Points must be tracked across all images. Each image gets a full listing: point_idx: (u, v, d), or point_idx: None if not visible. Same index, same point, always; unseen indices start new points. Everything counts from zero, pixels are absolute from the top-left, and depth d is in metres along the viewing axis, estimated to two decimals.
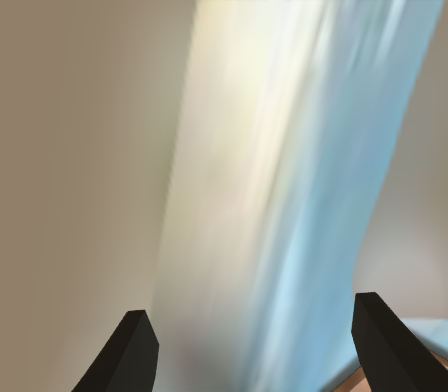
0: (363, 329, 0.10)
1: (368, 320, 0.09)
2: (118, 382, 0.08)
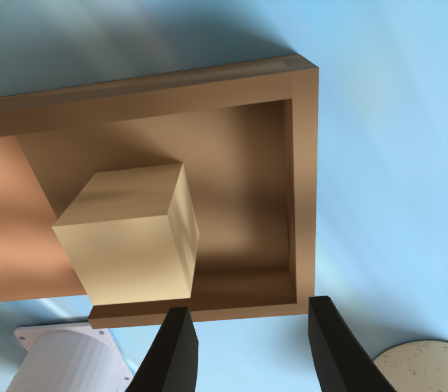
0: (314, 332, 0.10)
1: (316, 324, 0.09)
2: (171, 379, 0.08)
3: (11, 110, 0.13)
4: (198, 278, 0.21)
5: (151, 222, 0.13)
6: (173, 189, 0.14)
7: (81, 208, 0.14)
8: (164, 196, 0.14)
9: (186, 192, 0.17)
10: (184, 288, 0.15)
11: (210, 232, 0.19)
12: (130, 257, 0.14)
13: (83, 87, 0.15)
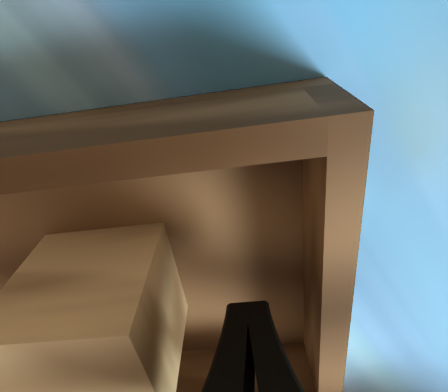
0: None
1: (248, 328, 0.09)
2: (246, 375, 0.08)
3: None
4: (188, 356, 0.16)
5: (105, 344, 0.08)
6: (144, 276, 0.10)
7: (7, 308, 0.09)
8: (129, 292, 0.09)
9: (168, 263, 0.12)
10: None
11: (202, 303, 0.15)
12: (79, 383, 0.09)
13: (17, 125, 0.11)
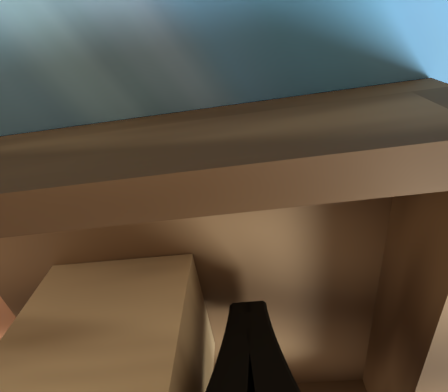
0: None
1: None
2: (250, 375, 0.08)
3: None
4: None
5: None
6: (176, 331, 0.08)
7: (5, 371, 0.08)
8: (159, 354, 0.07)
9: (197, 301, 0.10)
10: None
11: None
12: None
13: (48, 137, 0.09)
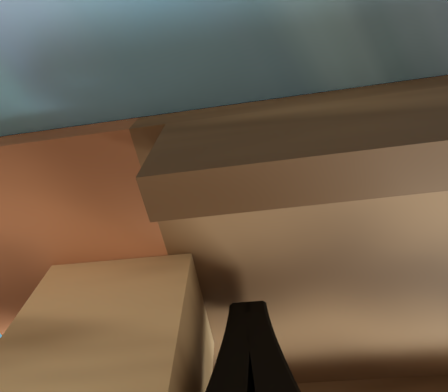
0: None
1: None
2: (249, 375, 0.08)
3: (227, 164, 0.06)
4: (381, 386, 0.14)
5: None
6: (176, 330, 0.08)
7: (5, 371, 0.08)
8: (158, 353, 0.07)
9: (197, 301, 0.10)
10: None
11: (424, 327, 0.12)
12: None
13: (297, 104, 0.08)
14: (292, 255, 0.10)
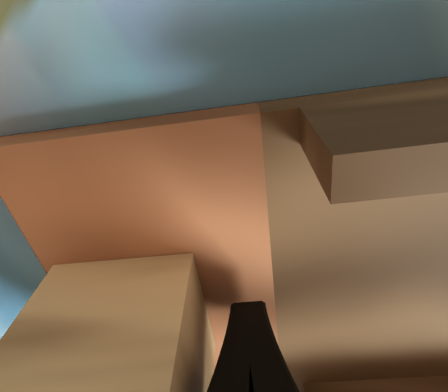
0: None
1: None
2: (251, 375, 0.08)
3: (431, 141, 0.05)
4: None
5: None
6: (177, 330, 0.08)
7: (6, 370, 0.08)
8: (160, 353, 0.07)
9: (198, 301, 0.10)
10: None
11: None
12: None
13: (439, 86, 0.08)
14: (399, 246, 0.10)
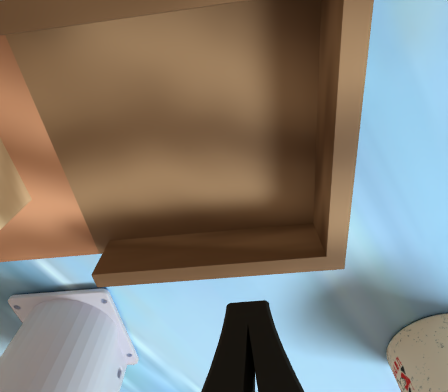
0: None
1: (248, 328, 0.09)
2: (246, 375, 0.08)
3: None
4: (214, 235, 0.19)
5: None
6: None
7: None
8: None
9: None
10: None
11: (229, 179, 0.18)
12: None
13: None
14: (120, 112, 0.16)
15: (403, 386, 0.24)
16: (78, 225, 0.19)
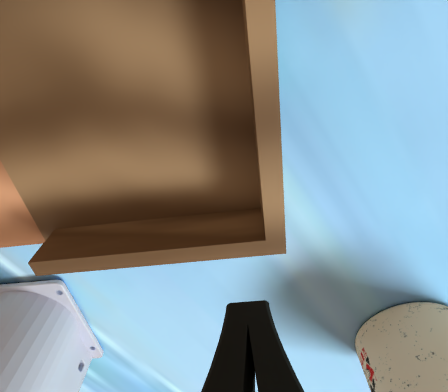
0: None
1: (248, 328, 0.09)
2: (246, 375, 0.08)
3: None
4: (159, 221, 0.19)
5: None
6: None
7: None
8: None
9: None
10: None
11: (168, 163, 0.17)
12: None
13: None
14: (47, 93, 0.15)
15: (368, 377, 0.23)
16: (21, 213, 0.19)
